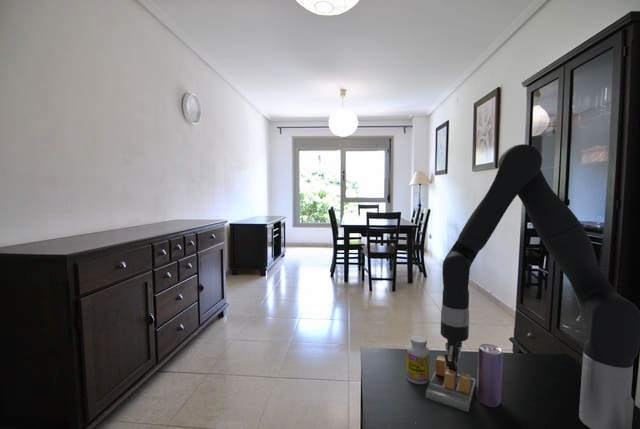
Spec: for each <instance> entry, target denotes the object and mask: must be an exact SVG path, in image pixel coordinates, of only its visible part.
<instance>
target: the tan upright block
mask: <svg viewBox="0 0 640 429" xmlns="http://www.w3.org/2000/svg"><path fill="white" fill-rule="evenodd" d="M459 374H460V377H459V391H460V392H463V393H466V394H469V393H470V379H471V378H472V377H471V376H472V375H471V374H468V373H464V372H462V371H461V372H460V373H459Z"/></svg>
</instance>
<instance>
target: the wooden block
mask: <svg viewBox="0 0 640 429" xmlns="http://www.w3.org/2000/svg"><path fill="white" fill-rule="evenodd" d="M446 370H447V365H446V360H445V356H441V355H437V357H436V359H435V371H436V374H437V375H441V376H445V372H446Z"/></svg>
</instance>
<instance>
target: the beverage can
mask: <svg viewBox="0 0 640 429" xmlns="http://www.w3.org/2000/svg"><path fill="white" fill-rule="evenodd" d="M503 361H504V354H503V349H502V348H501V347H499V346H497V345H494V344H489V343H482V344H479V348H478V354H477V374H476V378H477V379H476V399H477V400H478V402H480V403H481V404H482V405H483V406H487V407H491V408H495V407H498V406H499V405H500V404H501V403H502V402H501V401H502V384H503V382H502V381H503V365H504V364H503V363H504V362H503Z"/></svg>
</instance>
